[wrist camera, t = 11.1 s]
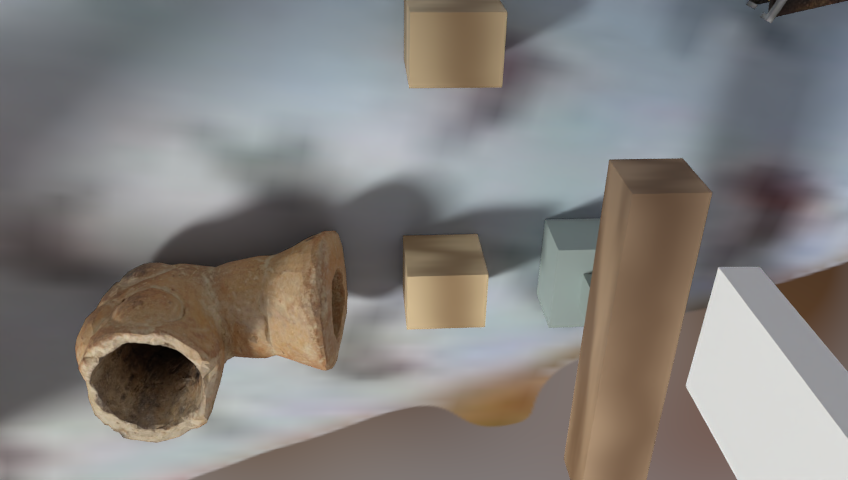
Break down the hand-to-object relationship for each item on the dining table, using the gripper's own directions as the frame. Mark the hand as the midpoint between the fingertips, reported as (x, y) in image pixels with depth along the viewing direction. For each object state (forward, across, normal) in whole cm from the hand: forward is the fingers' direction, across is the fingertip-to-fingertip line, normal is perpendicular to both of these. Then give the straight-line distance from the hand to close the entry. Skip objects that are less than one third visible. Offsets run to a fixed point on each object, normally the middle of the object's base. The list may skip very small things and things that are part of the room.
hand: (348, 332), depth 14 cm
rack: (+34, +6, -12) cm, 36 cm away
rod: (+26, +16, -19) cm, 36 cm away
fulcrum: (+34, +16, -19) cm, 42 cm away
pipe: (+34, -8, -21) cm, 41 cm away
